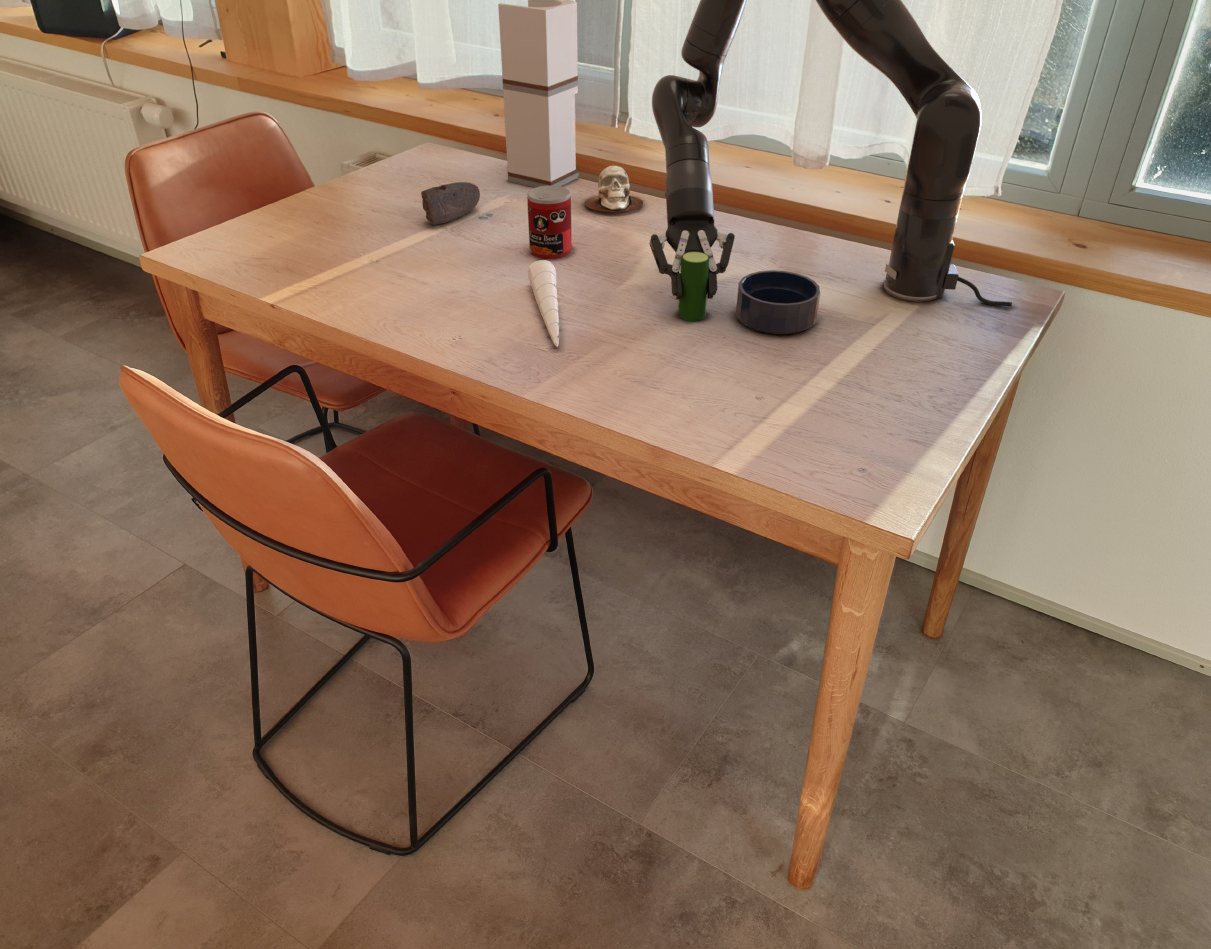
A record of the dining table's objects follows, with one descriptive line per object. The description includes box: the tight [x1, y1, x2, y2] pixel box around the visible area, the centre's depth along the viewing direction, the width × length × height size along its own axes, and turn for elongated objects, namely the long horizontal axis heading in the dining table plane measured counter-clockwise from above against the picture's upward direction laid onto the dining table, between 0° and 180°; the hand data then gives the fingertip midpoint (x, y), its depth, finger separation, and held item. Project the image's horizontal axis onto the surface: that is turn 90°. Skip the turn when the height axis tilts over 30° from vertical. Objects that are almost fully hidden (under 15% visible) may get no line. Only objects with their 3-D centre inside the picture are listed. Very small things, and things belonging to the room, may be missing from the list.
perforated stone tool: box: [420, 181, 481, 226], centre depth 184 cm, size 15×5×7 cm, turn 139°
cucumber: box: [677, 252, 710, 322], centre depth 149 cm, size 4×4×10 cm
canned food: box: [526, 186, 573, 260], centre depth 170 cm, size 8×8×11 cm
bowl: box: [735, 269, 822, 335], centre depth 150 cm, size 13×13×6 cm
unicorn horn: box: [527, 259, 560, 348], centre depth 150 cm, size 5×24×5 cm, turn 5°
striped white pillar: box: [497, 0, 580, 188], centre depth 195 cm, size 11×11×35 cm
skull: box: [584, 165, 644, 213], centre depth 191 cm, size 12×10×10 cm
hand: (695, 297), depth 148 cm, fingers closed on cucumber, 4 cm apart
